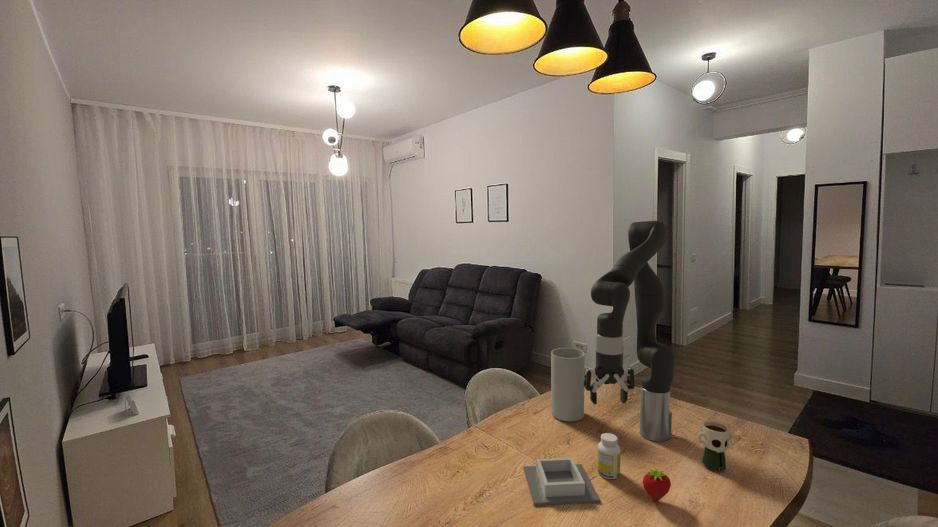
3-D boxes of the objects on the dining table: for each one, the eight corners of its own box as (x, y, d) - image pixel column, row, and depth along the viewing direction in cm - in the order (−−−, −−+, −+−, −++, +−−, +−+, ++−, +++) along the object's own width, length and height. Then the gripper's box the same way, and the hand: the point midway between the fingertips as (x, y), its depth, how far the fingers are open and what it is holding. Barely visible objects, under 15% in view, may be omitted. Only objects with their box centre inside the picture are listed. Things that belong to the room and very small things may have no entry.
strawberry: (676, 506, 106) (677, 470, 105) (651, 511, 104) (652, 475, 103) (660, 491, 112) (661, 457, 111) (636, 496, 110) (637, 462, 109)
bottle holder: (581, 466, 124) (581, 453, 124) (600, 502, 108) (600, 487, 108) (523, 468, 124) (523, 455, 123) (533, 505, 108) (533, 490, 107)
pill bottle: (616, 467, 123) (617, 431, 122) (622, 481, 117) (623, 443, 116) (595, 466, 124) (595, 430, 123) (599, 480, 118) (600, 442, 116)
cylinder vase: (587, 422, 151) (588, 358, 148) (554, 422, 151) (554, 358, 148) (579, 407, 163) (579, 347, 161) (548, 407, 163) (548, 348, 161)
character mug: (704, 475, 119) (706, 433, 117) (689, 461, 126) (691, 421, 124) (739, 472, 119) (741, 431, 118) (722, 458, 126) (724, 419, 125)
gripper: (628, 344, 120) (627, 396, 122) (581, 346, 120) (580, 397, 122) (639, 353, 113) (638, 407, 115) (589, 354, 113) (588, 409, 114)
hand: (608, 402), depth 118 cm, fingers open, 8 cm apart
